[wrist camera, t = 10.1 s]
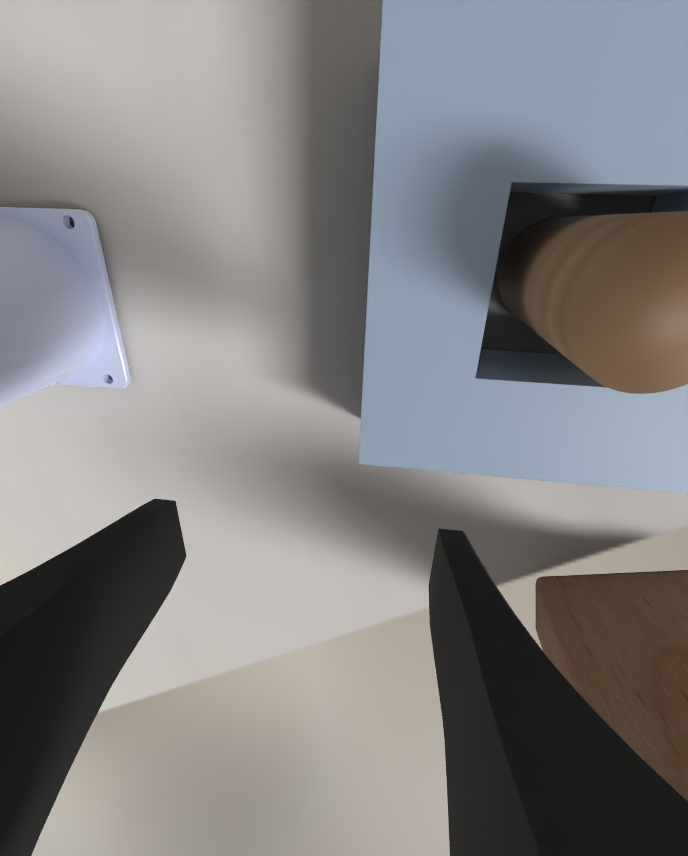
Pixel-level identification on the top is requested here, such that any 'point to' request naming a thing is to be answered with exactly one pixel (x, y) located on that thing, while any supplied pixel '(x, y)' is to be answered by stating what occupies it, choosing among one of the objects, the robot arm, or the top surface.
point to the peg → (606, 294)
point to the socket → (484, 219)
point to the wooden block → (625, 656)
